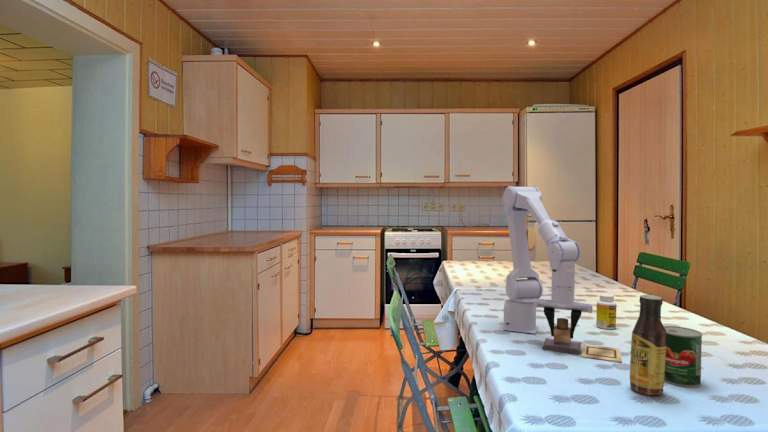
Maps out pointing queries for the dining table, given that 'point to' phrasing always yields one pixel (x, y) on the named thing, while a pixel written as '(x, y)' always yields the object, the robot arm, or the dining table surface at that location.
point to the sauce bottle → (648, 348)
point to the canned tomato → (683, 356)
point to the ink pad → (562, 347)
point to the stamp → (562, 332)
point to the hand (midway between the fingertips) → (562, 336)
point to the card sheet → (601, 353)
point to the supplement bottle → (606, 312)
